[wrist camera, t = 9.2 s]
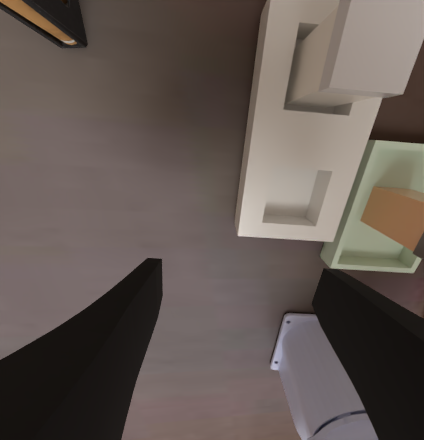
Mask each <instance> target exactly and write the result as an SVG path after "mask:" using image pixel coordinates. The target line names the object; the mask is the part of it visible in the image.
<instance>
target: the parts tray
mask: <svg viewBox="0 0 424 440" xmlns="http://www.w3.org/2000/svg"><path fill="white" fill-rule="evenodd" d="M373 186H378V187H391V188H404V189H412V190H415V191H419V192H422V193H424V144H417V143H405V142H393V141H381V140H368V142H367V144H366V147H365V150H364V153H363V156H362V159H361V162H360V165H359V168H358V171H357V174H356V176H355V179H354V182H353V185H352V188H351V191H350V194H349V197H348V200H347V203H346V206H345V209H344V211H343V214H342V217H341V220H340V223H339V226H338V229H337V232H336V235H335V238H334V241H333V242H325V241H324V244H323V247H322V250H321V253H320V257H321V259H322V260H323V261H324V262H325V263H326V264H327V265H328V266H329V268H334V269H351V270H368V271H385V272H402V273H414V272H415V270H416V268H417V267H418V265H419V263H420V261H421V258H419V257H417V256H416V255H414V254H412V253H413V251H411V250H410V249H408V248H406V247H405V246H403V245H401V244H399V243H398V242H396V241H394V240H392V239H391V238H389V237H387V236H386V235H384V234H382V233H380V232H379V231H377V230H375V229H373V228H372V227H370V226H368V225H367V224H365V223H363V222H361V221H360V220H361V217H362V215H363V212H364V209H365V207H366V204H367V202H368V199H369V196H370V194H371V191H372V189H373Z"/></svg>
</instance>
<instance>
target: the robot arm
mask: <svg viewBox="0 0 424 440" xmlns="http://www.w3.org/2000/svg"><path fill="white" fill-rule="evenodd" d="M162 296H163V293H162V259H156V258H147V259H146V260H145V261H144V262H142V263H141V264H140V265H139V266H138V267H137V268H136V269H134V270H133V271H132V272H131V273H130V274H129V275H127V276H126V277H125V278H124V279H123V280H122V281H120V282H119V283H118V284H117V285H116V286H114V287H113V288H112V289H111V290H109V291H108V292H107V293H106V294H104V295H103V296H102V297H100V298H99V299H98V300H96V301H95V302H94V303H92V304H91V305H90V306H88V307H87V308H86V309H84V310H83V311H81V312H80V313H78V314H77V315H75V316H74V317H72V318H71V319H69V320H68V321H66V322H65V323H63V324H61V325H60V326H58V327H57V328H55V329H54V330H52V331H50V332H48V333H47V334H45V335H43V336H42V337H40V338H38V339H36V340H35V341H33V342H31V343H30V344H28V345H26V346H24V347H23V348H21V349H19V350H17V351H16V352H14V353H12V354H10V355H9V356H7V357H5V358H3V359H1V360H0V440H121V438H122V434H123V430H124V426H125V422H126V418H127V414H128V410H129V406H130V402H131V398H132V394H133V390H134V387H135V384H136V380H137V377H138V374H139V371H140V368H141V365H142V362H143V359H144V357H145V354H146V351H147V348H148V345H149V342H150V339H151V336H152V333H153V330H154V327H155V324H156V321H157V318H158V314H159V310H160V305H161V301H162ZM312 306H313V308H314V311H315V314H296V313H287V314H285V315H284V318H283V322H282V325H281V329H280V332H279V336H278V339H277V343H276V346H275V350H274V353H273V357H272V360H271V364H270V367H271V369H273V370H279V373H280V377H281V380H282V383H283V387H284V390H285V394H286V397H287V401H288V404H289V408H290V411H291V414H292V418H293V421H294V424H295V427H296V430H297V432H298V434H299V435H300V437H301V439H302V440H424V319H423V318H421V317H419V316H418V315H416V314H414V313H412V312H410V311H409V310H407V309H405V308H404V307H402V306H400V305H398V304H397V303H395V302H393V301H392V300H390V299H388V298H386V297H385V296H383V295H381V294H380V293H378V292H376V291H375V290H373V289H371V288H370V287H368V286H366V285H365V284H363V283H361V282H360V281H358V280H356V279H355V278H353V277H351V276H349V275H347V274H346V273H344V272H342V271H340V270H338V269H325V268H324V269H323V272H322V275H321V278H320V281H319V284H318V286H317V289H316V292H315V295H314V298H313V301H312Z"/></svg>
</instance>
